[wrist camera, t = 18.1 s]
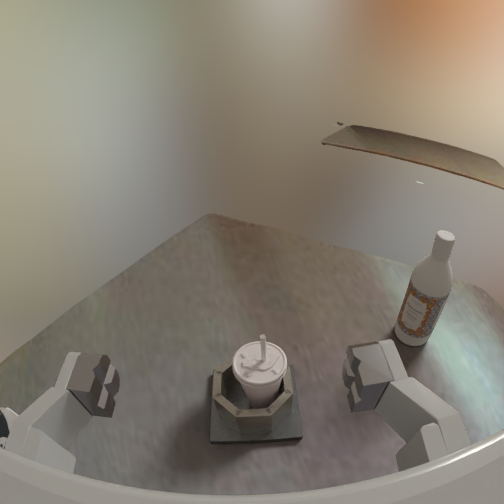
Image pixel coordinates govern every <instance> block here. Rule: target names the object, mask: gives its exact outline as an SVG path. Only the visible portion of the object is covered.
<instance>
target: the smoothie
mask: <svg viewBox="0 0 504 504" xmlns="http://www.w3.org/2000/svg"><path fill="white" fill-rule="evenodd" d="M232 367H233V373H234V375H235V377H236V379H237V380H238V381H239V382H240V383H241V385H242V388H243V390H244V392H245V395H246V397H247V399H248V401H249V404H250V406H251V407H252V408H253V409H265V408H268V407H269V406H270V405H271V404H272V403H273V402H274V401H275V400H276V398H277V394H278V390H279V387H280V383H281V380H282V378H283V377H284V375H285V373H286V370H287V359H286V356H285V354H284V352H283V351H282V350H281V349H280V348H279V347H278V346H276V345H275V344H272V343H269V342H266V337H265V335H261V336H260V341H257V342H252V343H248V344H246V345H244V346H243V347H241V348H240V349H239V350H238V351H237V352H236V353H235V355H234V357H233V361H232Z"/></svg>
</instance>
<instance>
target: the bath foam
mask: <svg viewBox="0 0 504 504" xmlns="http://www.w3.org/2000/svg"><path fill="white" fill-rule="evenodd" d="M454 241H455V237H454V235H453V234H452V233H450V232H448V231H443V230H440V231H438V232H437V235H436V238H435V242H434V245H433V249H432V252H431V253H430V254H429V255H427V256H426V257H425V258H424V259H422V260H421V261H420V262H419V263H418V265H417V266H416V267H415V269H414V271H413V273H412V275H411V279H410V282H409V285H408V288H407V292H406V295H405V298H404V301H403V304H402V307H401V310H400V312H399V315H398V318H397V321H396V324H395V333H396V336H397V337H398V339H399V340H400V341H402V342H403V343H405V344H407V345H410V346H420V345H423V344H424V343H425V342H427V340H428V339H429V337H430V335H431V333H432V331H433V329H434V327H435V325H436V323H437V321H438V319H439V316H440V314H441V312H442V310H443V307H444V305H445V303H446V300H447V298H448V296H449V293H450V291H451V287H452V281H453V274H452V269H451V265H450V261H449V257H450V254H451V250H452V247H453V244H454Z"/></svg>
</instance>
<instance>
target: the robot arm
mask: <svg viewBox="0 0 504 504" xmlns="http://www.w3.org/2000/svg"><path fill="white" fill-rule="evenodd" d="M346 353H347V358H346V359H345V360H344V363H343V380H344V384H345V386H346V387H347V388H348V389H350V391H349V394H348V396H347V397H348V401H349V405H350V409H351V413H353V412H359V411H365V410H371V409H375V411H376V412H377V413H378V414H379V415H380V416H381V417H382V418H383V419H384V420H385V421H386V422H387V423H388V424H389V425H390V426H391V427H392V428H393V429H394V430H395V431H396V432H397V434H398V435H399V436H400V437H401V438H402V439H403V440H404V441H405V442H406V444H405V445H404V446H403V447H402V448H401V449H400V450H399V451H398V453H397V454H396V460H397V464H398V468H399V472H396V473H393V474H389V475H385V476H381V477H378V478H373V479H369V480H365V481H361V482H356V483H351V484H346V485H341V486H335V487H329V488H323V489H316V490H309V491H301V492H292V493H281V494H266V495H197V494H183V493H172V492H163V491H155V490H148V489H141V488H135V487H129V486H123V485H118V484H113V483H109V482H104V481H100V480H95V479H91V478H87V477H84V476H80V475H76V474H73V471H74V466H75V461H76V458H75V457H74V455H72V454H71V453H69V452H68V451H67V450H65V449H66V448H67V447H68V446H69V444H70V443H71V442H72V441H73V440H74V438H75V437H76V436H77V435H78V434H79V432H80V431H81V430H82V429H83V428H84V426H85V425H86V424H87V423H88V422H89V420H90V419H91V418H92V417H93V416H101V417H109V418H112V415H113V411H114V407H115V400H114V398H113V397H114V396H115V395H116V394H117V393H118V390H119V386H120V378H119V374H118V372H117V370H116V368H114V367H113V366H111V365H110V362H111V361H110V359H109V358H108V356H107V355H99V354H88V353H78V352H70V353H69V354H68V355H67V357H66V359H65V361H64V364H63V366H62V369H61V371H60V374H59V376H58V379H57V382H56V384H55V387H51V388H50V389H48V390H47V391H46V392H45V393H44V394H43V395H42V396H41V397H39V398H38V399H37V400H36V401H35V402H34V403H33V404H32V405H30V406H29V407H28V408H27V409H26V410H25V411H24V412H23V413H22V414H20V415H17V414H16V413H15V412H14V411H12V410H11V409H10V408H0V504H504V429H503V430H501V431H499V432H497V433H495V434H493V435H491V436H489V437H487V438H485V439H483V440H481V441H479V442H477V443H474V444H472V445H471V443H470V440H469V437H468V434H467V432H466V429H465V426H464V424H463V421H462V418H461V416H460V413H459V412H458V411H456V410H455V409H454V408H452V407H451V406H450V405H448V404H447V403H446V402H445V401H443V400H442V399H441V398H439V397H438V396H437V395H435V394H434V393H433V392H431V391H430V390H429V389H427V388H426V387H425V386H424V385H422V384H421V383H420V382H418V381H417V380H416V379H414V378H413V377H409V378H408V375H407V373H406V370H405V368H404V365H403V363H402V360H401V358H400V355H399V353H398V351H397V348H396V346H395V344H394V341H393V340H392V339H388V340H383V341H374V342H368V343H362V344H356V345H349V346H348V348H347V351H346ZM92 415H93V416H92Z"/></svg>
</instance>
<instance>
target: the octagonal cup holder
mask: <svg viewBox="0 0 504 504" xmlns="http://www.w3.org/2000/svg"><path fill="white" fill-rule="evenodd" d="M234 355H235V354H234ZM234 355H233V356H232V357H231V358H230V359H228V360H227V361H226V362H225V363H223V364H222V365H221V366H220V367H218V368H217V369H216V370H213V386H212V405H211V427H210V442H211V444H236V443H261V442H276V441H288V440H298V439H302V437H303V435H302V427H301V420H300V412H299V405H298V397H297V390H296V383H295V376H294V369H293V365H291V366H288V365H287V370H286V373H285V375H284V377H283V378H282V380H281V383H280V387H279V390H278V394H277V398H276V400H275V401H274V402H273V403H272V404H271V405H270V406H269V407H268V408H265V409H253V408H252V407H251V406H250V404H249V401H248V399H247V397H246V395H245V392H244V390H243V388H242V385H241V383H240V382H239V381H238V380H237V379H236V377H235V375H234V373H233V367H232V361H233V357H234Z"/></svg>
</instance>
